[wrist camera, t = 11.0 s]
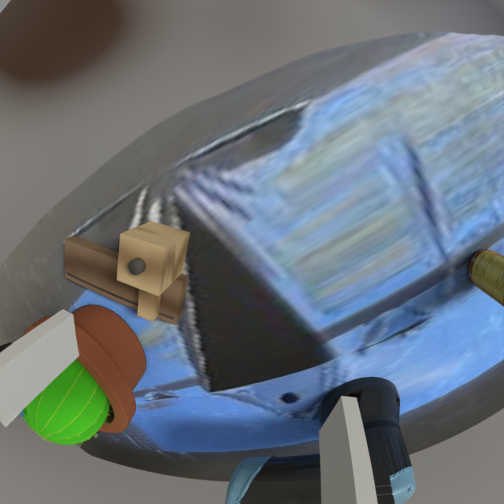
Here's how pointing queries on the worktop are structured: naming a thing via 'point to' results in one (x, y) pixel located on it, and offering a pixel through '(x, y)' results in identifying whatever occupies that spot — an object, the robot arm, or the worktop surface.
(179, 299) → the board
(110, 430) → the potted cactus
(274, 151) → the worktop surface
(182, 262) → the tan wooden block
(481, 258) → the sauce bottle
